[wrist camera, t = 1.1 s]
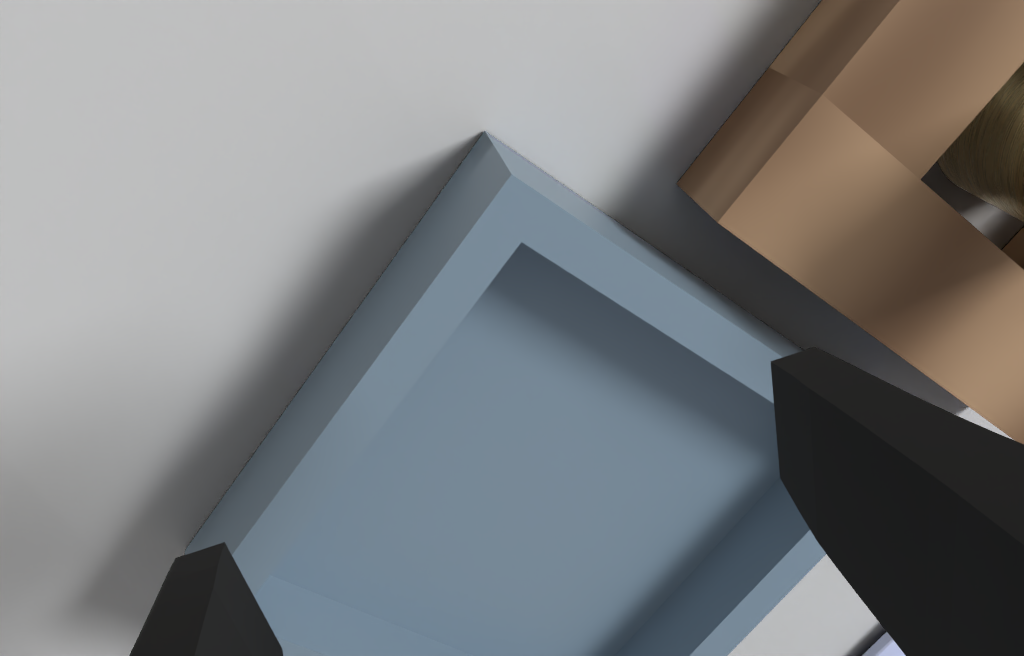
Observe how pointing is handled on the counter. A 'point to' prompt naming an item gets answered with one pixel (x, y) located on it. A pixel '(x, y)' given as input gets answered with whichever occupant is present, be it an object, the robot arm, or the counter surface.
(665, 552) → the slate-blue tray
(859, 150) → the walnut socket block
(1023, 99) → the brass peg
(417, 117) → the counter surface
